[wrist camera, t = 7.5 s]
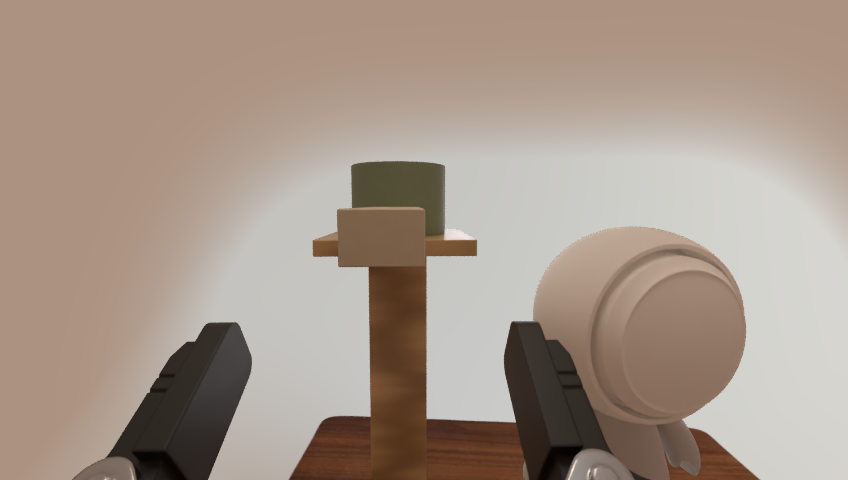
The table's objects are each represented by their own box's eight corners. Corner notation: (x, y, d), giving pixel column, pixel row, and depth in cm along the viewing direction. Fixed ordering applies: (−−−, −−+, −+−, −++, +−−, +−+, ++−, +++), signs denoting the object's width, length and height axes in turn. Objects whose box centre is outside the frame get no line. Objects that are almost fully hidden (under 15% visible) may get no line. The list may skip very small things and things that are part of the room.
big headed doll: (593, 715, 28) (616, 237, 24) (482, 486, 50) (487, 221, 47) (806, 651, 32) (851, 233, 28) (615, 465, 54) (628, 220, 51)
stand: (311, 745, 26) (295, 240, 23) (339, 596, 36) (331, 229, 33) (484, 738, 26) (493, 239, 23) (465, 592, 36) (469, 229, 33)
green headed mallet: (279, 267, 13) (273, 118, 13) (360, 229, 33) (359, 171, 32) (482, 266, 13) (484, 119, 13) (440, 229, 33) (441, 171, 33)
